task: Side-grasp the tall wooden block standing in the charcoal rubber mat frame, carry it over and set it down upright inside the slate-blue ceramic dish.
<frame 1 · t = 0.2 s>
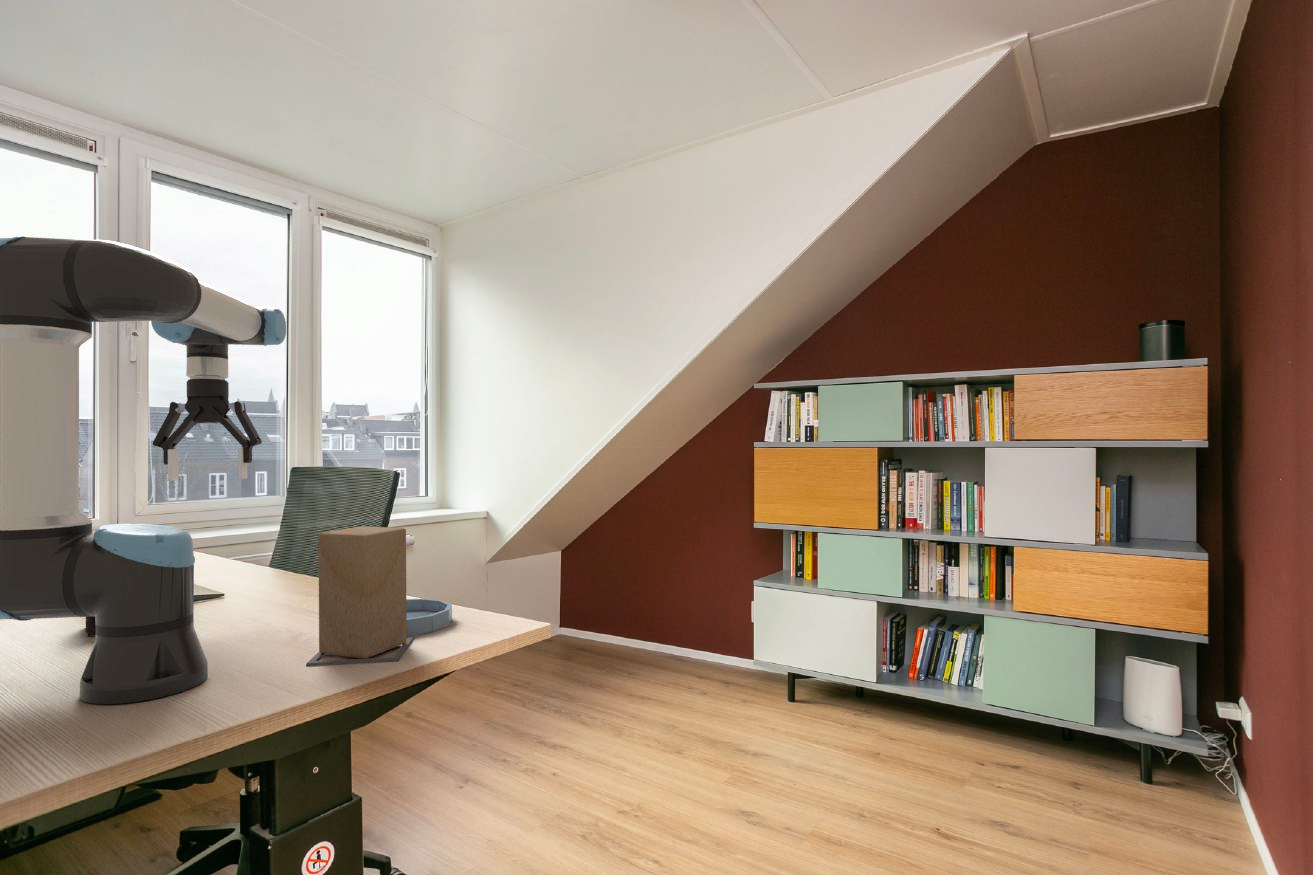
hand: (208, 479, 150), 28 cm above the table, tool pointing down, fingers open, 13 cm apart
wooden block: (363, 649, 121), on the table, touching mat
dish: (402, 624, 138), on the table
mat: (363, 650, 121), on the table
candle: (119, 628, 138), on the table
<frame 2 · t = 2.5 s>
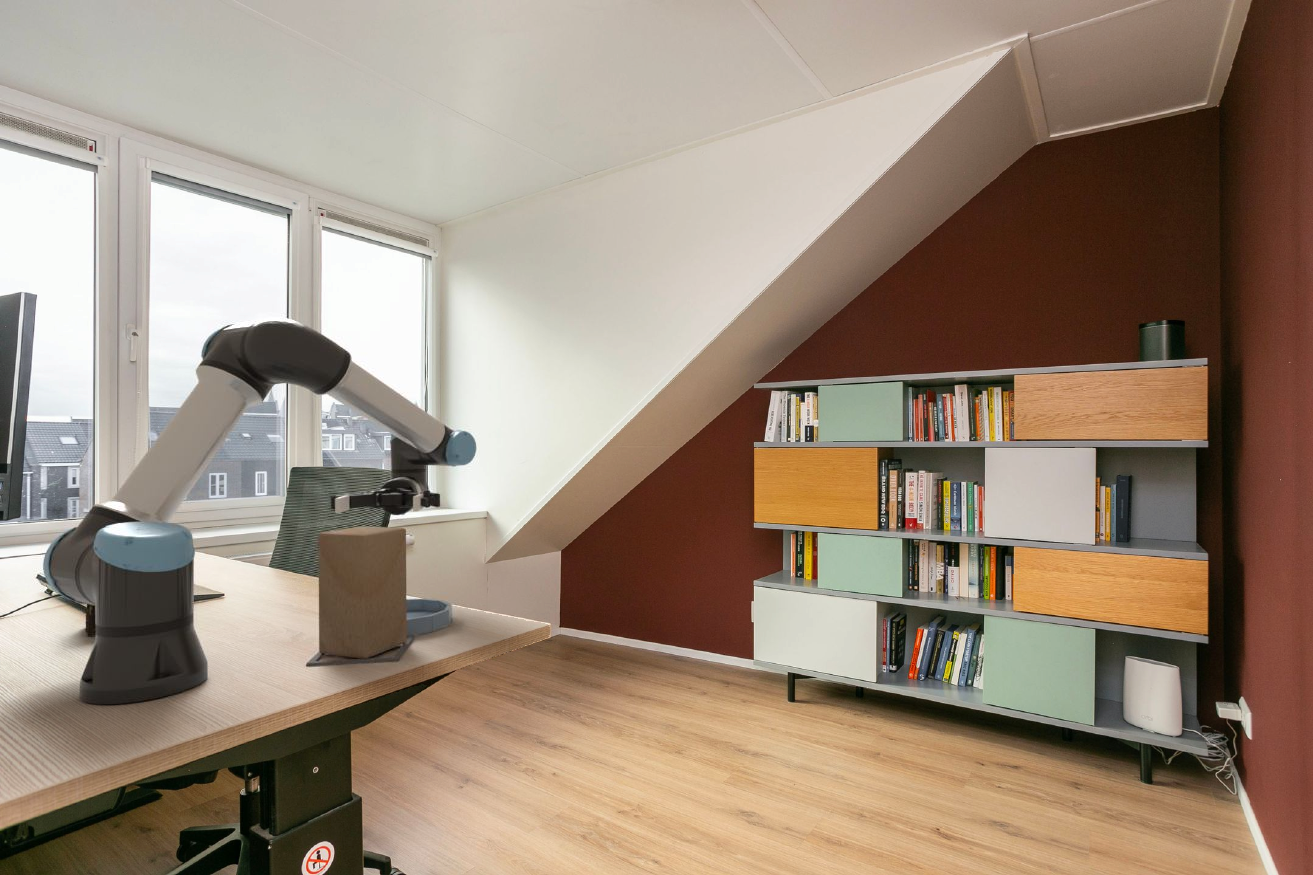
hand: (376, 504, 131), 24 cm above the table, tool horizontal, fingers open, 13 cm apart
nothing on the table moved.
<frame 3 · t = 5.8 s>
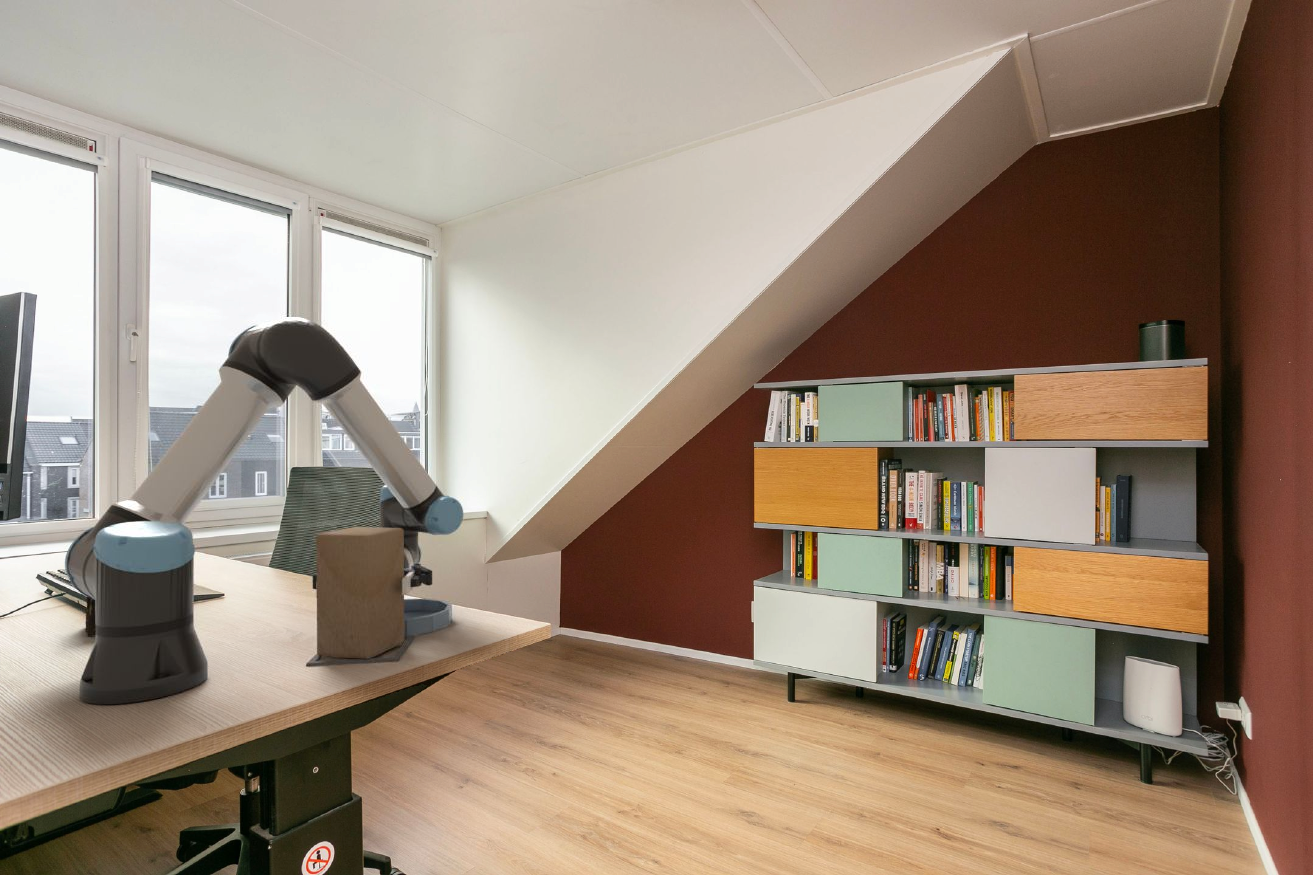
hand: (362, 588, 119), 11 cm above the table, tool horizontal, fingers open, 13 cm apart
wooden block: (361, 650, 120), on the table, touching gripper
everything else where it was.
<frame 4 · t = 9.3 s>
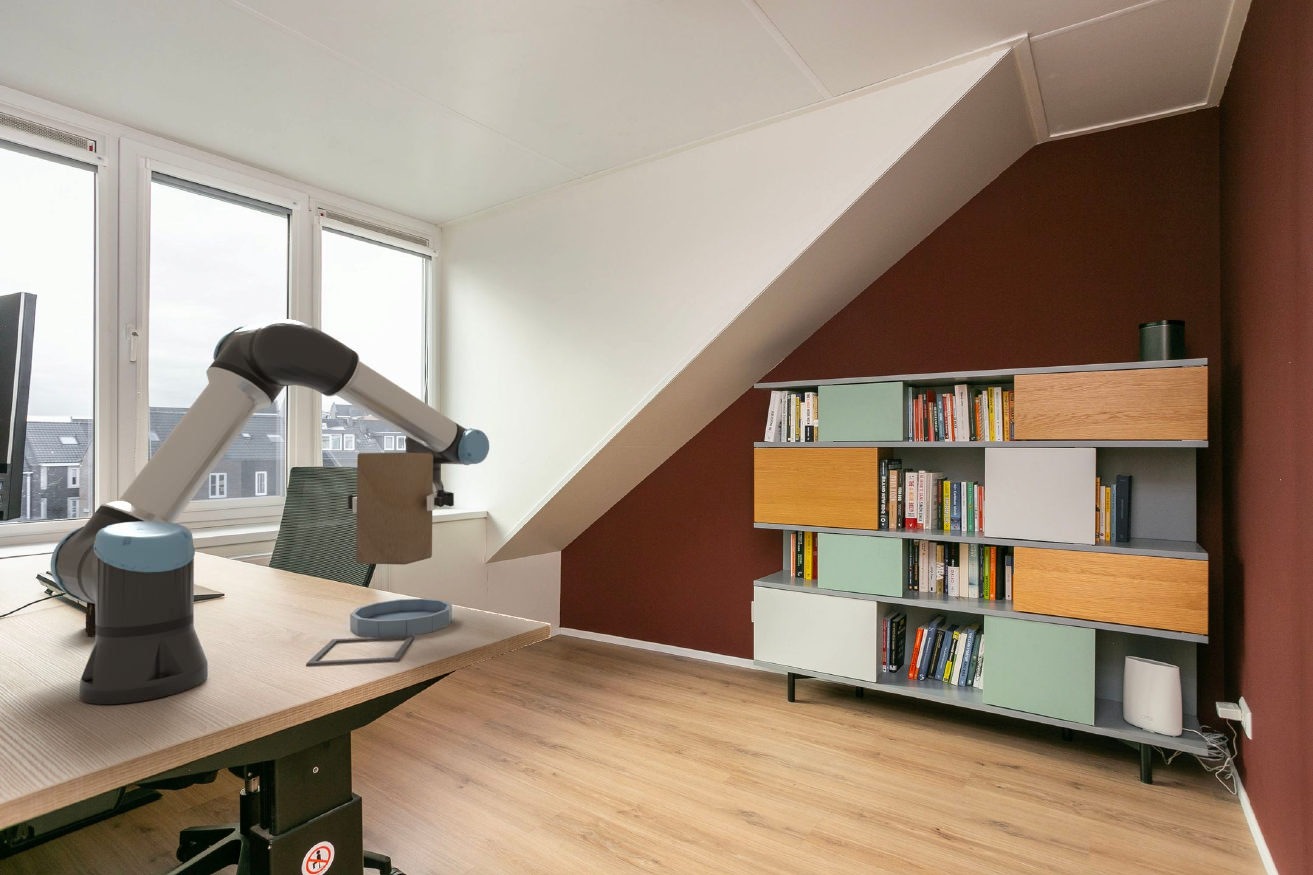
hand: (392, 504, 130), 24 cm above the table, tool horizontal, fingers closed on wooden block, 12 cm apart
wooden block: (395, 561, 133), point 13 cm above the table, touching gripper
everything else where it was.
when the fingers open (13 cm above the table, at t = 12.2 s): wooden block drops 2 cm, resting on dish.
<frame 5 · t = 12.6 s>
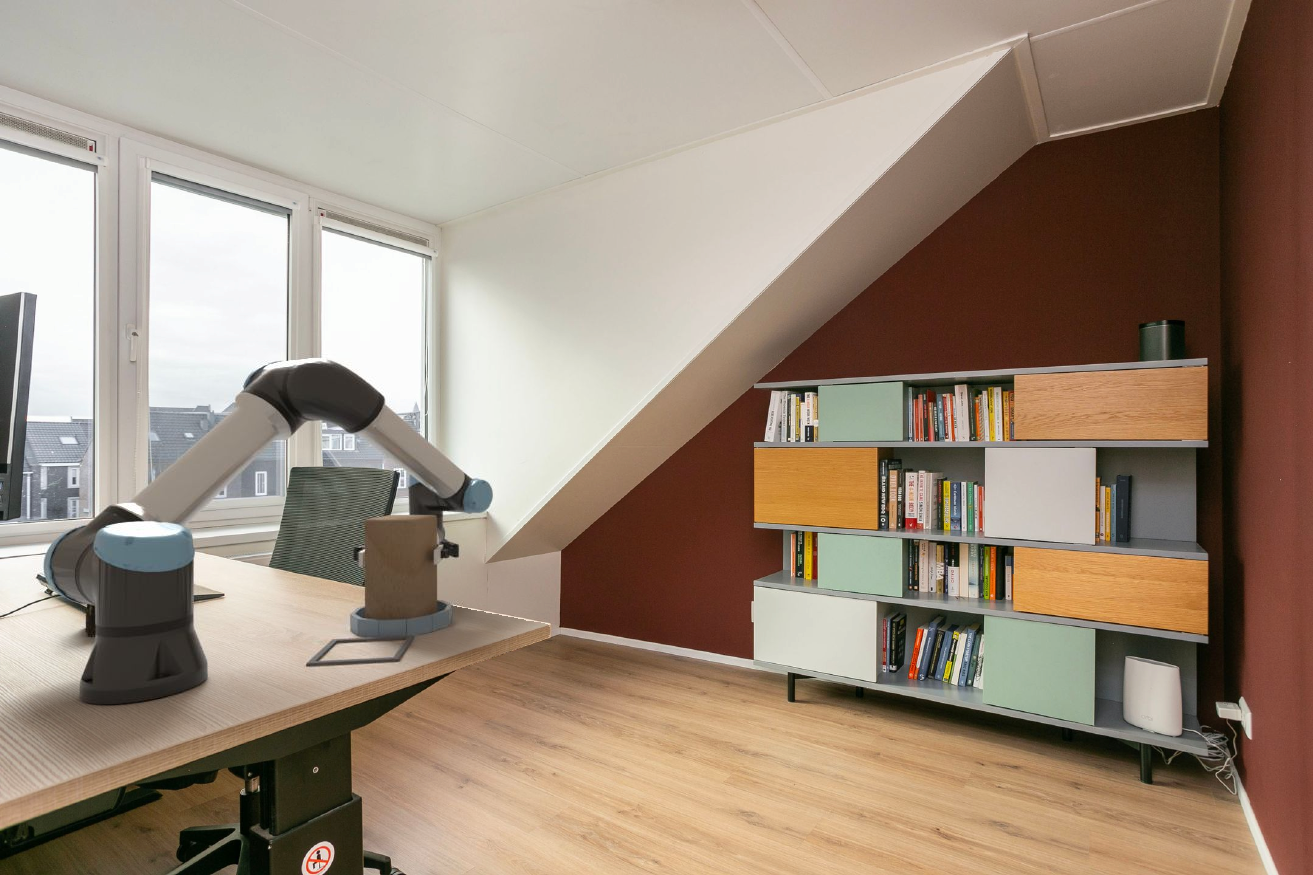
hand: (398, 558, 135), 13 cm above the table, tool horizontal, fingers open, 13 cm apart
wooden block: (402, 622, 137), point 1 cm above the table, touching dish
everything else where it was.
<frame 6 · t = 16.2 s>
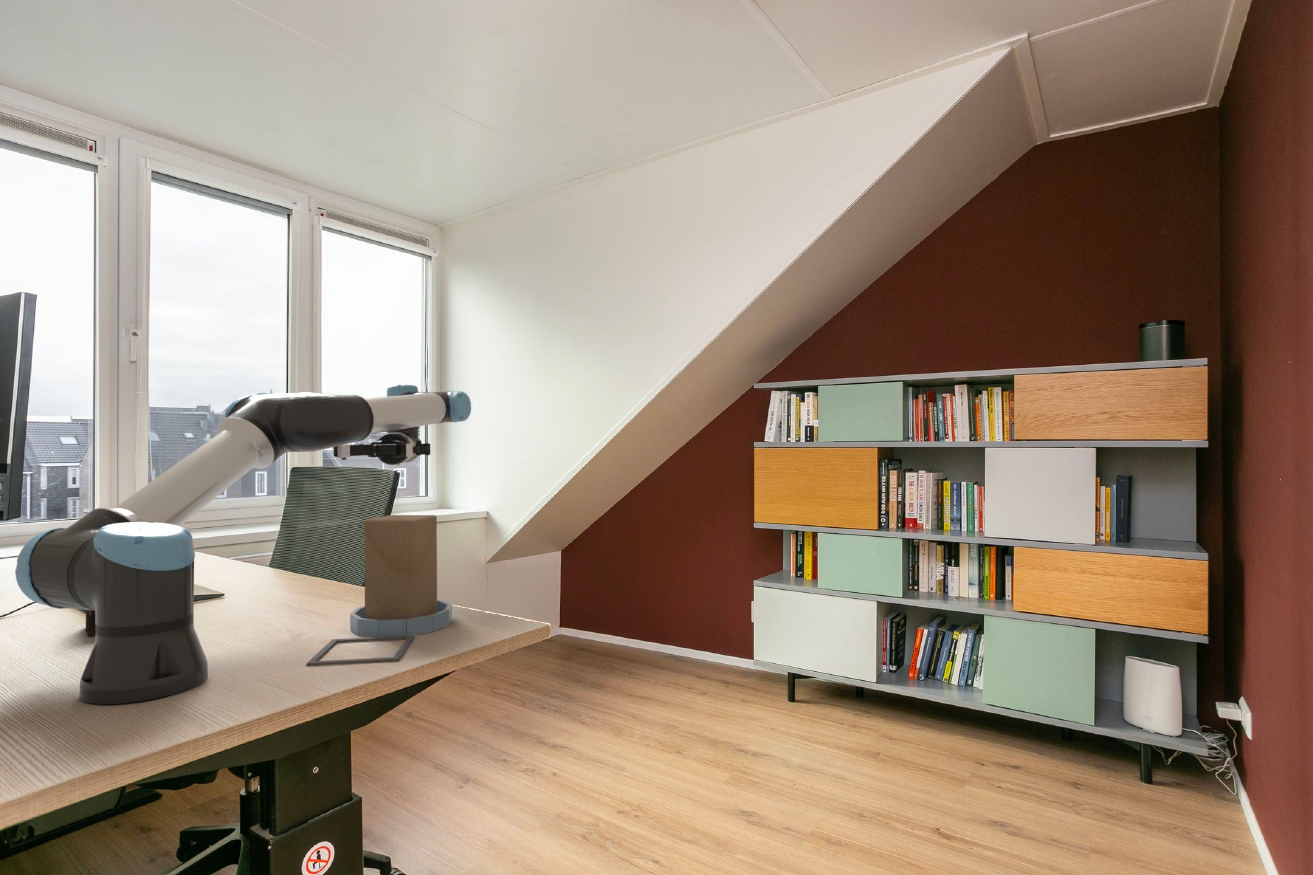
hand: (374, 450, 149), 34 cm above the table, tool horizontal, fingers open, 13 cm apart
nothing on the table moved.
at the end: wooden block inside the target area on the dish (0.8 cm from its centre), point 0.6 cm above the dish's base; wooden block tilted 0°; the gripper is holding nothing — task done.
